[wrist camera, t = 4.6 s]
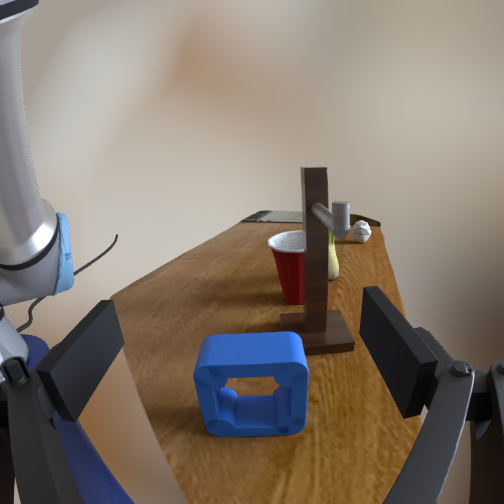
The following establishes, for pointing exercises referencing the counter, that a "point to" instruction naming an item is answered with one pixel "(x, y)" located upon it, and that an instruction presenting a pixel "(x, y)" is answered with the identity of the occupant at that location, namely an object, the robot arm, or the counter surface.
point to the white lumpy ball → (361, 231)
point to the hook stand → (319, 268)
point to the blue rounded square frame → (252, 365)
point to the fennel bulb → (332, 259)
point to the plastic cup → (289, 264)
